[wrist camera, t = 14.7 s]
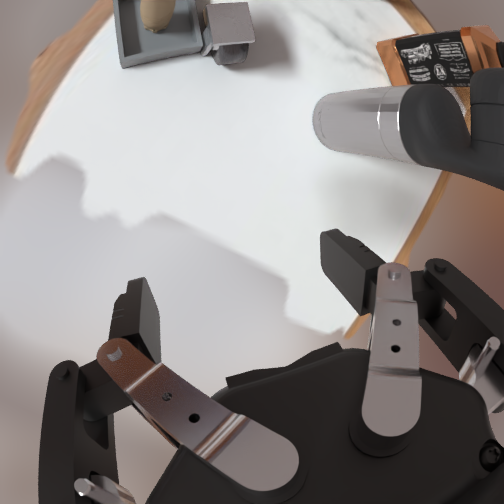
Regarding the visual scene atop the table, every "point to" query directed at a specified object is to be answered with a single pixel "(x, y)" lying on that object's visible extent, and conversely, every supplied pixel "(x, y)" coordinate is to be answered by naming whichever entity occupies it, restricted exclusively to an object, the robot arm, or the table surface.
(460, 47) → the whiskey bottle
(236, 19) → the trolley wheel
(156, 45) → the tray
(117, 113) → the table surface
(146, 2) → the handle
